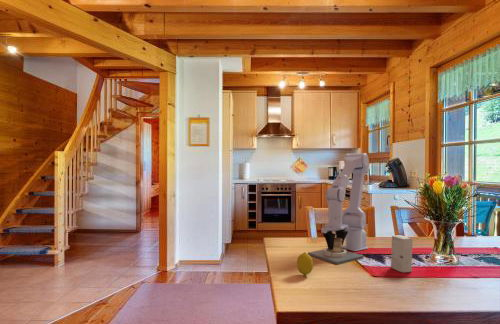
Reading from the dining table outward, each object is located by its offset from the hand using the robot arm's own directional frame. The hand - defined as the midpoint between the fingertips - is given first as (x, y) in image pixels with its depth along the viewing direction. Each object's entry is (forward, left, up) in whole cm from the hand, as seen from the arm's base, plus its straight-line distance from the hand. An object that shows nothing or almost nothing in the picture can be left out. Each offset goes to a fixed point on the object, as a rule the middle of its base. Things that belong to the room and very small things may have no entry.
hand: (335, 248), depth 132 cm
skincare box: (-7, +25, -4) cm, 26 cm away
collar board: (0, 0, -3) cm, 3 cm away
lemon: (+27, +10, -4) cm, 29 cm away
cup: (0, +1, -2) cm, 2 cm away
